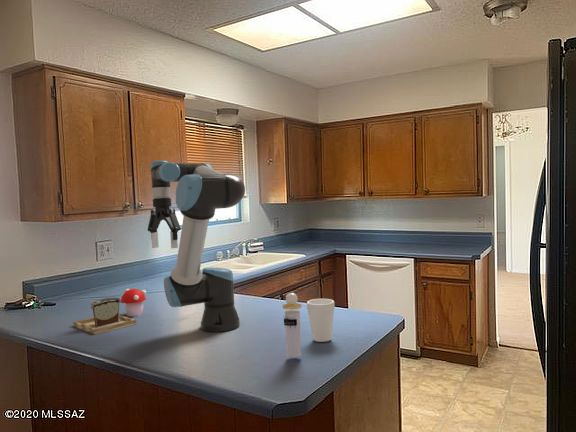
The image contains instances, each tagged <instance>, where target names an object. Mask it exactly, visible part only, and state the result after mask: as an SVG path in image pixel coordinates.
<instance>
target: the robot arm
mask: <svg viewBox="0 0 576 432" xmlns="http://www.w3.org/2000/svg"><path fill="white" fill-rule="evenodd" d="M150 175H151V176H150V177H151V195H152V208H155V209H151V210H150V217H149V220H148V221H149V222H148V226H147V231H148V232H149V233H150V236H151V238H150V239H151V247H152V249H154V248H155V249H156V248H159V233H158V228H159V226H160V225H161V222H162V221H165V222H166V224H167V226H168V228H169V229H170V232H169V233H170V248H171V249H177V248H178V250H177V257H176V264H175V266H174V267H173V268H172V269H171V272H170V275H167V276H166V277H164V278H163V287H164V288H163V289H164V293H165V298H166V301H167V304H168V305H169V306H170V307H171V308H180V307H181V308H182V307H186V306H187V307H188V306H193V305H199V304H204V305H203V306H204V309H203V313H202V317H201V321H200V329H201V330H202V331H205V332H211V333H218V332H227V331H232V330H235V329H237V328H239V327H240V325H241V323H240V320H241V319H240V317H239V315H238V312H237V309H236V307H235V291H234V288H235V287H234V275H233V271H232V270H231V269H230V268H223V267H210V266H209V267H204V268H202V270H201V264H202V261H203V259H202V258H203V253H204V249H205V241H206V237H207V233H208V226H209V221H210V220H212V219H213V218H214V217H215V215H216V214H215V212H216V210H218V209H228V208H229V209H230V208H232V207H234V206H236V205H237V204H239V203H240V202H241V201H242V199H243V198H244V197H245V192H246V191H245V190H246V185H245V183H244V181H243V180H242V178H241V177H239V176H237V175H235V174H233V173H229V172H228V173H227V172H226V173H223V172H221V171H217V170H215V169H213V167H212V165H211V164H209V163H202V162H201V163H185V162H184V163H180V162H179V163H175V162H168V161H167V160H153V161H151V163H150ZM171 183H177V185H176V188H175V203H176V204H175V205H176V207H177V209H179V212H180V214H181V216H182V217H183V218H182V225H180V223H179V221H178V218H177V215H176V209H175V208H170V207H172V198H171V197H172V195H171V194H172V193H171ZM179 231H181V232H180V237H179V245H178V232H179Z"/></svg>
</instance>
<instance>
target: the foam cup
mask: <svg viewBox="0 0 576 432" xmlns="http://www.w3.org/2000/svg"><path fill="white" fill-rule="evenodd" d="M335 306H336V305H335V301H334V300H333V299H331V298H313V299H309V300H308V301H306V309H307V312H308V319H309V325H310V330H311V336H312V340H313V341H314V342H320V343H322V342H323V343H324V342H330V341H331V340H332V336H333V335H332V334H333V323H334V313H335V312H334V311H335Z"/></svg>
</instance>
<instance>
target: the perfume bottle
mask: <svg viewBox="0 0 576 432" xmlns="http://www.w3.org/2000/svg"><path fill="white" fill-rule="evenodd" d="M285 302H286V303H285V304H282V309H284V315H282V316H283V325H284V329H285V344H286V347H285V348H286V356H287V357H288V358H298V357H301V356H302V341H301V340H302V337H301V334H302V333H301V315H300V314H301V313H300V310H298V309H301V308H302V304H301V303H298V296H297V294H296V293H294V292H289V293H287V295H286V296H285Z"/></svg>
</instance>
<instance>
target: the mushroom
mask: <svg viewBox="0 0 576 432" xmlns="http://www.w3.org/2000/svg"><path fill="white" fill-rule="evenodd" d="M146 294H147V291H146V289H142V290H139V289H138V288H126V289H125V290H124V293H123V294H121V298H120V301H121V304H125V305H124V306H125V307H124V310H125V313H126V317H128V318H131V317H132V318H133V317H140V316H141V315H143V312H144V311H143V310H144V303H143V302H144V301H147V298H146V296H145V295H146Z"/></svg>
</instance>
